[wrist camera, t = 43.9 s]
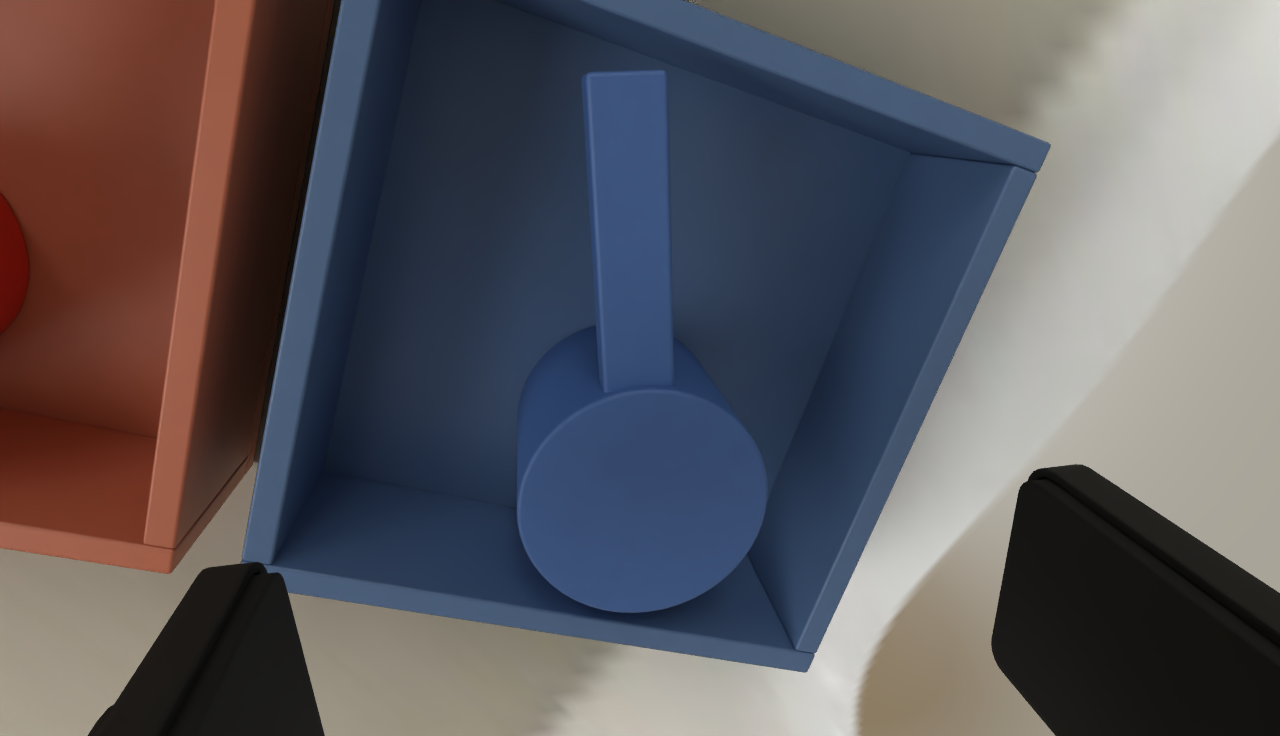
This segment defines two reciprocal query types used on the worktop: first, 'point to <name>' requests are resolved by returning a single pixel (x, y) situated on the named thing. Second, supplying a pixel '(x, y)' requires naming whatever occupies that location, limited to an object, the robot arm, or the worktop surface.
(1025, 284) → the worktop surface
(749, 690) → the worktop surface
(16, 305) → the red scoop
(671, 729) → the worktop surface
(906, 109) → the blue bin
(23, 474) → the red bin
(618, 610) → the blue scoop
